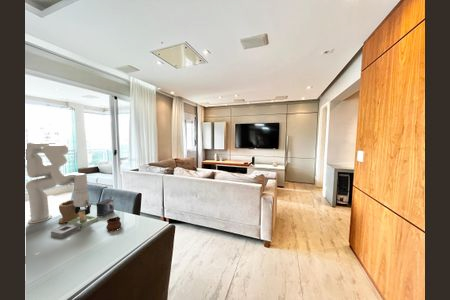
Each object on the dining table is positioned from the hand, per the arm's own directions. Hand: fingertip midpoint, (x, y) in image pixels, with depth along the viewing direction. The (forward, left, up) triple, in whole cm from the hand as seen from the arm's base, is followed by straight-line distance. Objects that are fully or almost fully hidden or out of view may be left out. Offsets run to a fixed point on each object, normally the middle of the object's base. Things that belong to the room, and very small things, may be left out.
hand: (82, 213), depth 130 cm
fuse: (0, 0, -6) cm, 6 cm away
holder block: (+4, -14, -7) cm, 16 cm away
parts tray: (0, 0, -7) cm, 7 cm away
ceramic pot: (+30, -1, -7) cm, 31 cm away
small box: (+2, +16, -7) cm, 18 cm away
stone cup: (-13, +1, -7) cm, 15 cm away
